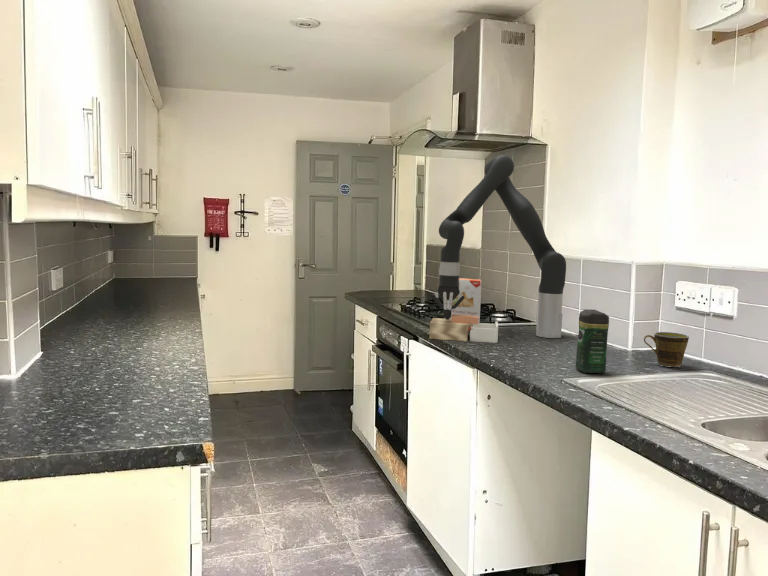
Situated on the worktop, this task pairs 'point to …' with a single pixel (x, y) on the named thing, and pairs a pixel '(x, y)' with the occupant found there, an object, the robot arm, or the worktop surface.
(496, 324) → the bin
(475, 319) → the tile
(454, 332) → the platform
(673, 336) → the ceramic cup
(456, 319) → the tile
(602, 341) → the coffee jar
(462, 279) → the cracker box
